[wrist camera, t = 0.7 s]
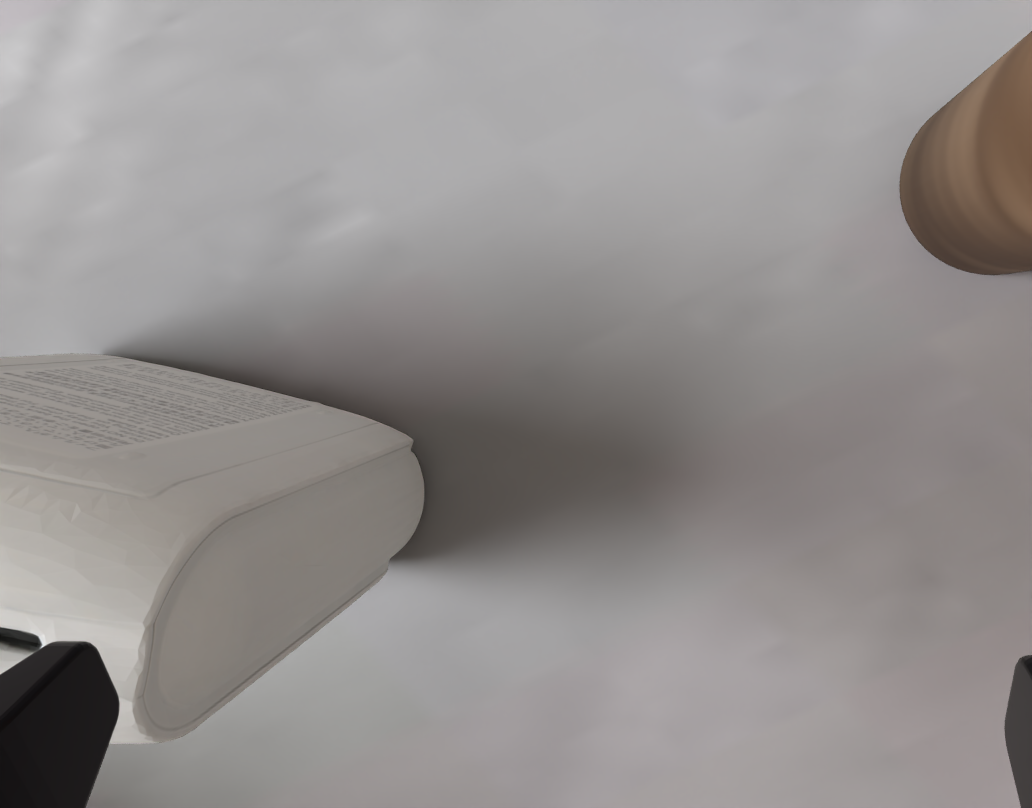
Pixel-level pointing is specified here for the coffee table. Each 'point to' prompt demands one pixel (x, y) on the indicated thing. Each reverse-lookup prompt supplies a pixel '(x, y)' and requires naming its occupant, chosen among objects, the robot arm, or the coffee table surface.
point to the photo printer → (185, 526)
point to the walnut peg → (977, 172)
